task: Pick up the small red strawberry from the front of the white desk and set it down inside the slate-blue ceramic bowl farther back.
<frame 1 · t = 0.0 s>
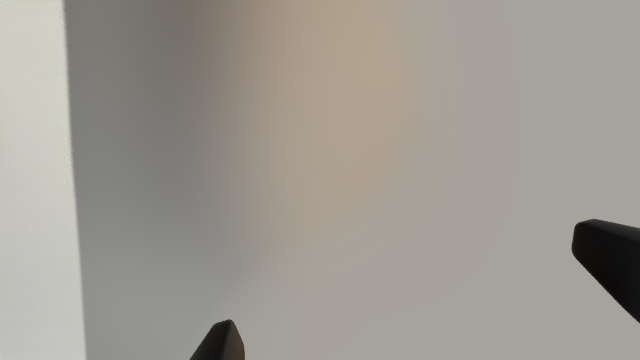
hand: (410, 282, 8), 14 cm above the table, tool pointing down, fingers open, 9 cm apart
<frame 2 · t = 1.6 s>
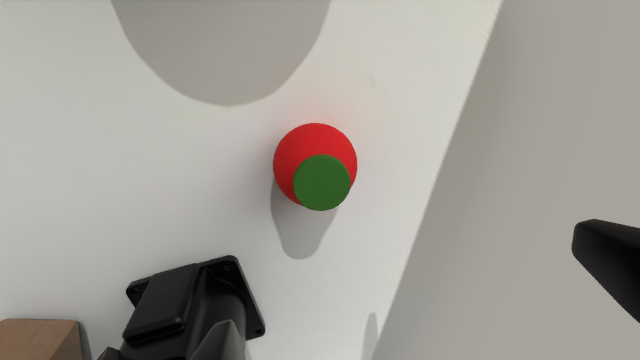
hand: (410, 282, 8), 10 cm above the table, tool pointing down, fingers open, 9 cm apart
wooden block: (48, 338, 19), on the table
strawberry: (310, 152, 17), on the table
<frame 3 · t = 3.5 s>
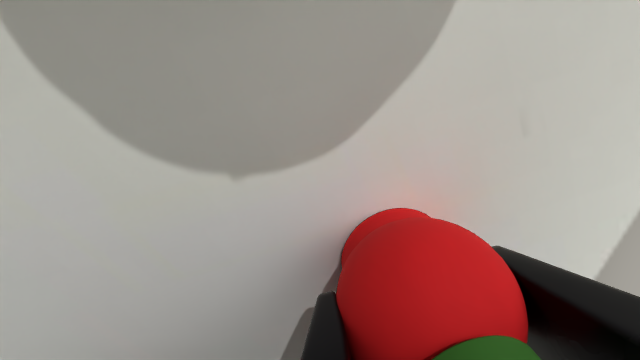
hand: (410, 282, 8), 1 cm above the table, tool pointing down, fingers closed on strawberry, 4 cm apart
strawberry: (391, 253, 9), on the table, touching gripper
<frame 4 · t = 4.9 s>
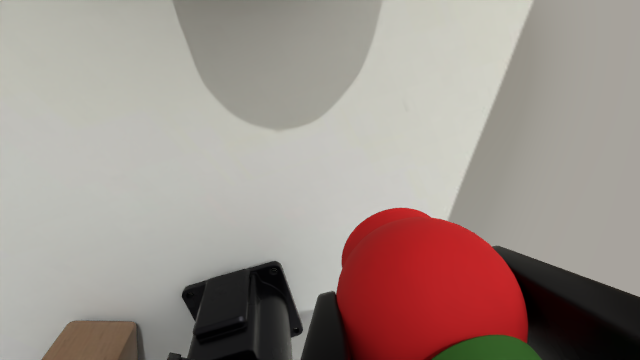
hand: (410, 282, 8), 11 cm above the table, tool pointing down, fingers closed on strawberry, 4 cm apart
wooden block: (107, 338, 21), on the table
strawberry: (392, 252, 9), point 10 cm above the table, touching gripper
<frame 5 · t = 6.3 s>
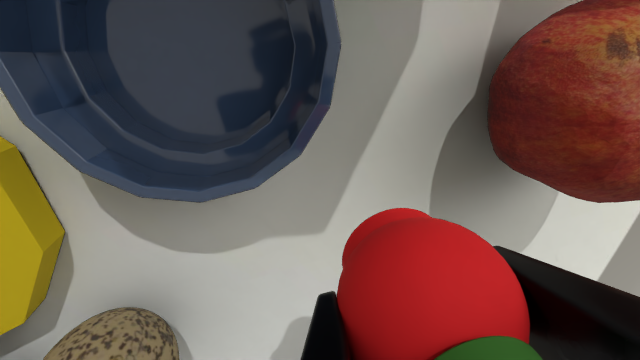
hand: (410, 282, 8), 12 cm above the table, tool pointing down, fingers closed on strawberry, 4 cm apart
fruit: (529, 94, 20), on the table
bowl: (197, 49, 16), on the table
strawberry: (392, 253, 9), point 11 cm above the table, touching gripper
decorative egg: (139, 320, 22), on the table
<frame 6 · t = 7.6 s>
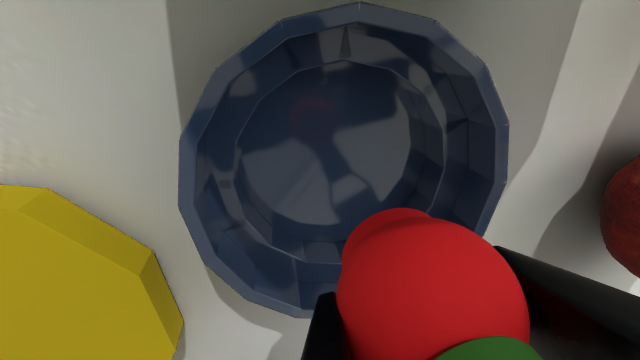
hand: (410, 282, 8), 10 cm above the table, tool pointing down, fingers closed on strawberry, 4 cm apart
fruit: (630, 184, 21), on the table
bowl: (333, 158, 17), on the table
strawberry: (392, 253, 9), point 8 cm above the table, touching gripper
when the fingers open (2 cm above the table, at t = 10.4 s): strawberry stays where it is, resting on bowl.
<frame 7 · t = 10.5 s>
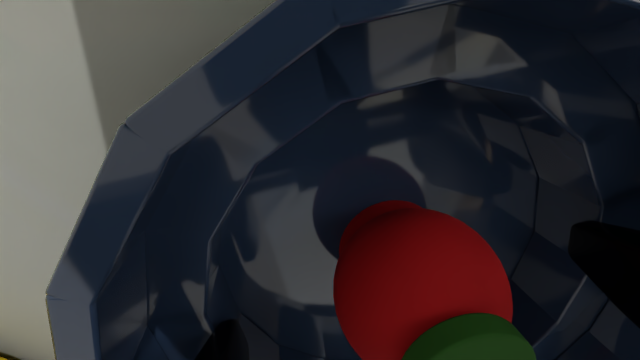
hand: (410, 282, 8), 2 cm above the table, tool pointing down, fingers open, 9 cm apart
bowl: (380, 233, 10), on the table
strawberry: (387, 243, 9), point 1 cm above the table, touching bowl
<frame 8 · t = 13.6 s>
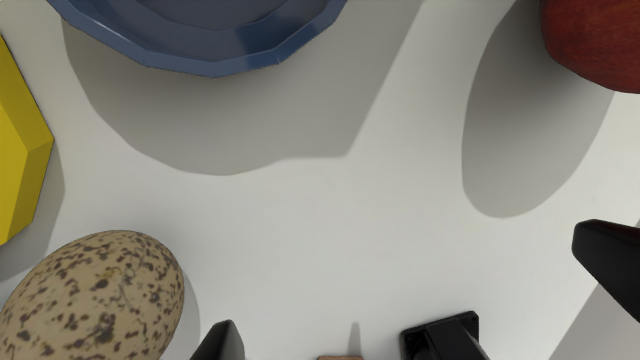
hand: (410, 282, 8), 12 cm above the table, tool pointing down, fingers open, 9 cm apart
decorative egg: (139, 254, 20), on the table
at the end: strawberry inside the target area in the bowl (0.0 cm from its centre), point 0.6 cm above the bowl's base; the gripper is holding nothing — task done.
